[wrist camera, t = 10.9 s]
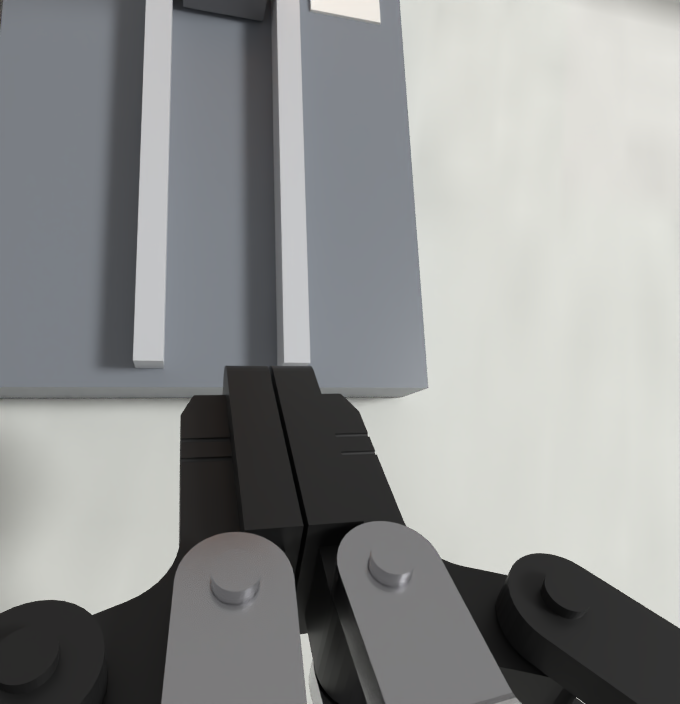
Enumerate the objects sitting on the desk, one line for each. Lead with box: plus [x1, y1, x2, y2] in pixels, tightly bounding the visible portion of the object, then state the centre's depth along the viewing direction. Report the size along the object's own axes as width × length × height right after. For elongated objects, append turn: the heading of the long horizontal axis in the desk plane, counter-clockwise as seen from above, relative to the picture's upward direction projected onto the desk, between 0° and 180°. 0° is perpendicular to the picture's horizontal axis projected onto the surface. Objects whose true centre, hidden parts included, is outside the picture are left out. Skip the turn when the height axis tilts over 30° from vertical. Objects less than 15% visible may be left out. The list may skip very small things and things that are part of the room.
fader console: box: [0, 0, 428, 398], centre depth 17 cm, size 12×16×3 cm
